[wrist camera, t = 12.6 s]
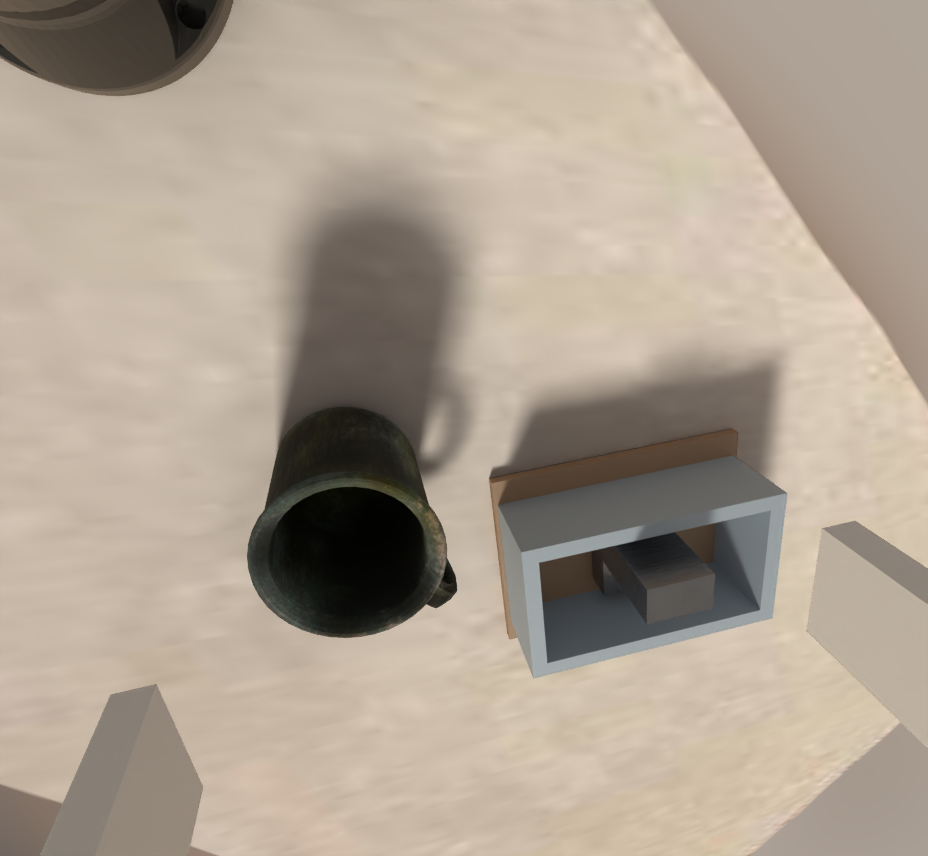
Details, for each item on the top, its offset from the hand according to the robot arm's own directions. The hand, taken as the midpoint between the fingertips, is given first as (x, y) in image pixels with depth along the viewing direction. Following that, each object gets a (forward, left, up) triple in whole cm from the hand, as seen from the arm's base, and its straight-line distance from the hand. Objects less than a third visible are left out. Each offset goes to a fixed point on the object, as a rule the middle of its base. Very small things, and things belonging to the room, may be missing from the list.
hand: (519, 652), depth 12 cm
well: (+22, +16, -32) cm, 42 cm away
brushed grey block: (+22, +16, -31) cm, 41 cm away
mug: (+12, -4, -32) cm, 34 cm away
